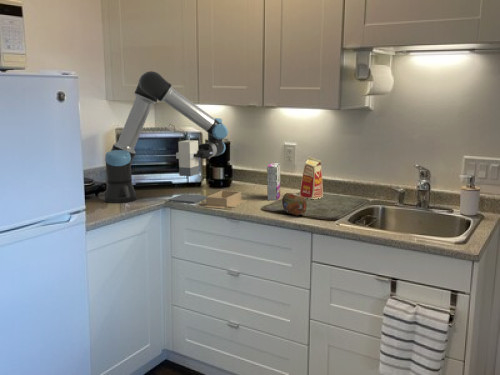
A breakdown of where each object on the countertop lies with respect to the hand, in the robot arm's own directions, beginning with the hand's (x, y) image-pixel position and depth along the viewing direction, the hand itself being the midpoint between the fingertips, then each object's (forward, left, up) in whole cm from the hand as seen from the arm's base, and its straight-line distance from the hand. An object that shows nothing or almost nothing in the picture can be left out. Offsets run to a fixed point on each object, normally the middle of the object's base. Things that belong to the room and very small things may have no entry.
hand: (183, 156), depth 239 cm
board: (-1, +5, -22) cm, 22 cm away
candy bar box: (+36, +23, -22) cm, 48 cm away
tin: (+55, -3, -22) cm, 60 cm away
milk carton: (+53, +31, -22) cm, 66 cm away
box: (0, +5, -10) cm, 11 cm away
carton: (+18, +5, -22) cm, 29 cm away
